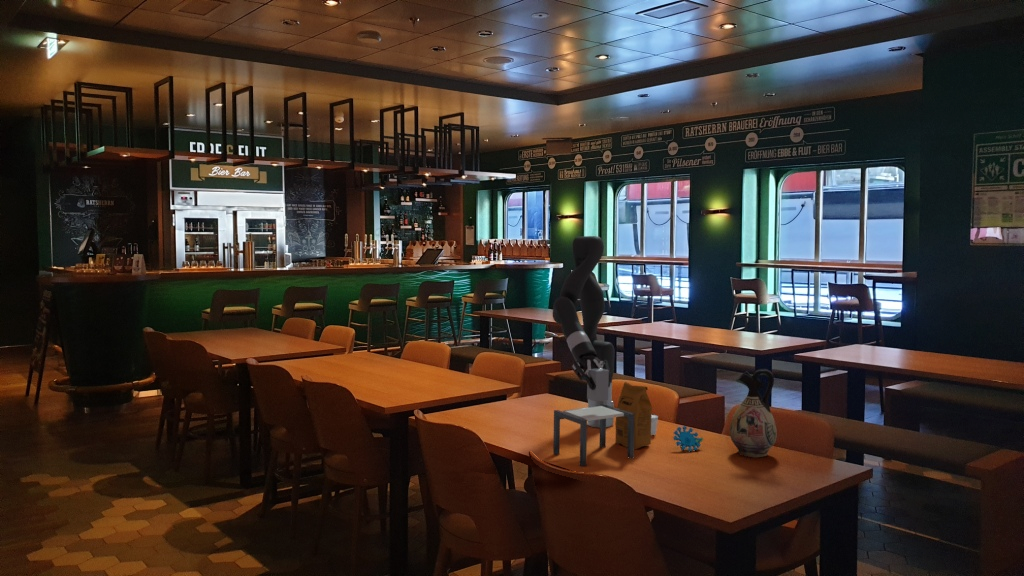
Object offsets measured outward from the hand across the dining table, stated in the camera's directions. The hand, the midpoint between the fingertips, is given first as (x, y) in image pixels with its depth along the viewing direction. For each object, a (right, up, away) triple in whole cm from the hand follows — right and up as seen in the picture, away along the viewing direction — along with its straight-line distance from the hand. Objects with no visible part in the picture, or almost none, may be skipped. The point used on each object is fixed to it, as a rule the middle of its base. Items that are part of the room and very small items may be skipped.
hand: (601, 387), depth 255 cm
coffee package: (+14, -23, +20) cm, 34 cm away
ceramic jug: (+54, -24, +9) cm, 60 cm away
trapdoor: (-2, -10, +5) cm, 11 cm away
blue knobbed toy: (+32, -24, +15) cm, 43 cm away
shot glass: (+22, -22, +35) cm, 47 cm away
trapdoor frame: (-2, -24, +5) cm, 24 cm away
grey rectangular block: (-1, -4, +2) cm, 5 cm away
